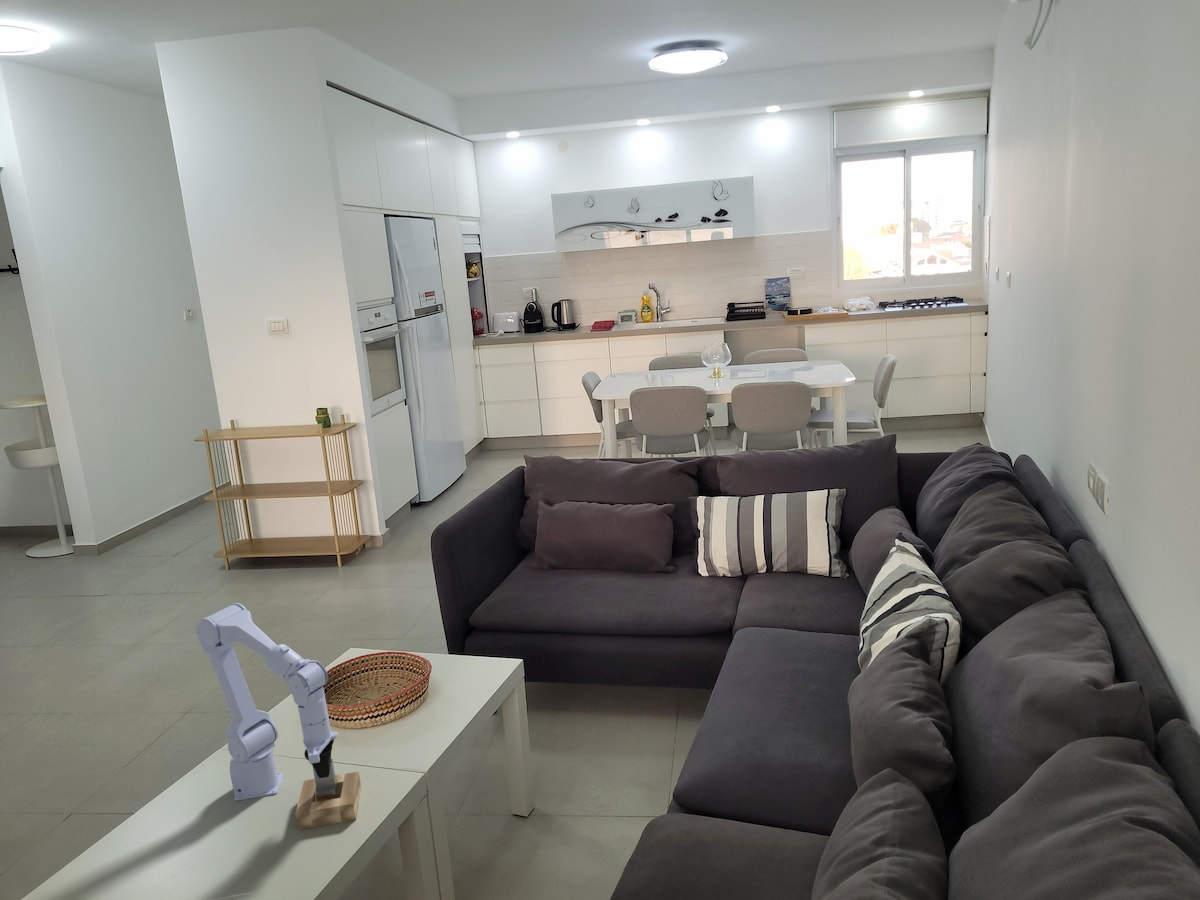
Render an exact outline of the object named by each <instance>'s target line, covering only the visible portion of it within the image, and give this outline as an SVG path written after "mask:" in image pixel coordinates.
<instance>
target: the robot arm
mask: <svg viewBox="0 0 1200 900" xmlns="http://www.w3.org/2000/svg"><path fill="white" fill-rule="evenodd" d="M195 633H196V635H197V637H198V641H199V644H200V646H201V648H202V651H203V653H204V654H206V655H207V657H208V659H209V662H210V664H211V667H212V669H213V672H214V674H215V676H216V679H217V681H218V682H217V683H218V684H219V687H220V689H221V692H222V695H223V697H224V700H225V702H226V703H225V704H226V705H227V708H228V710H229V713H230V715H231V721H230V722H229V723H230V724H229V725H228V727H227V729H226V730H225V736H226V739H227V749H228V752H229V755H230V756H231V758H230V762H229V774H230V781H231V784H232V785H231V786H232V789H233V793H234V794H233V796H234V798H233V799H234V801H235V802H237V801H244V800H249V799H254V798H255V799H256V798H259V797H261V798H262V797H266V796H273V795H277V794H278V792H279V789H280V787H281V783H282V779H283V777H284V773H283V772H278V770H277V764H276V759H275V756H274V748H275V747H276V746H275V745H276V744H275V742H276V741H277V740H278V737H279V734H278V733H279V730H278V727H277V726H276V724H275V723H274V721H273V720H272V719H271V717H270V714H269V713H268V712H267V711H266V710H265V711H264V710H259V709H257V708H256V705H255V702H254V700H253V696H252V694H251V691H250V690H249V687H248V684H247V682H246V679H245V677H244V673H243V671H242V668H241V666H240V663H239V661H238V658H237V656H236V652H235V650H234V645H235V643H236V642H240V644H241V643H242V644H243V645H244V646H246V647H247V648H249V649H251V650H252V651H253V652H255V653H257V654H258V655H260V656H261V657H263V658H265V659H264V660H265V666H266V667H267V668H268V669H270V670H271V671H272V672H273V673H275V674H276V675H277V676H278V677H280V679H282V680H284V681H285V682H286V687H287V689H288V691H289V692H290V694H291V695H292V698H293V702H294V703H295V705H297V709H298V715H299V720H300V725H301V730H302V736H303V740H302V743H303V745H304V748H305V751H304V754H303V755H304V758H305V759H306V760H307V761H308V762H309V764H311V766H312V768H313V767H314V769H315V771H316V773H317V775H318V777H319V778H325V777H329V772H330V765H329V760H330V759H332V750H333V745H334V742H335V740H336V739H337V737H338V735H339V734H338V731H337V730H336V731H332V729H331V723H330V718H329V710H328V707H327V700H326V695H325V690H324V686H325V684H327V682H328V673H327V672H328V671H327V670H326V668H325V667H324V665H323V664H322V663H321V662H320V661H319V660H314V659H313V660H312V659H310V658H306V659H304V658H303V656H301V655H300V654H298V653H297V652H296V651H295V650H293V649H292V648H290V647H289V646H288V645H286V644H284V643H280V644H276V643H275V642H274V641H273V640H272V639H271V638H270V637H269V636H268V635H267V634H266V633H265V632H264V631H262V630H261V629H260V628H259V627H258V626H257V625H256V624H255V623H254V622H253V616H252V614H251V612H250V610H248V609H247V608H246V607H245V606H244V605H243V604H241V603H240V602H233V603H232V604H230V605H229V606H227V607H225V608H222V609H221V610H218V611H217V612H214V613H212V614H211V615H209V616H206V617H202V618H200V620H199V621H198V623H197V625H196V627H195Z"/></svg>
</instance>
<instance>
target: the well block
mask: <svg viewBox="0 0 1200 900" xmlns="http://www.w3.org/2000/svg"><path fill="white" fill-rule="evenodd" d="M335 777H336V780H337V782H338V785H337V790H336V794H334V795H328V796H322V797H316V791H317V789H316V783H315V778H313V779H307V780H303V782H302V787H301V790H300V795H299V799H298V802H297V806H296V809H295V813H294V814H295V820H296V823H297V829H298V831H299V830H308V829H311V828H312V829H313V828H317V827H323V826H324V827H325V826H329V825H335V824H339V823H345V822H353V821H357V816H358V810H359V803H360V798H361V791H362V783H361V778H360V773H359V771H355V772H347V773H342V774H338V775H337V774H335Z"/></svg>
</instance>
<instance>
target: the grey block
mask: <svg viewBox="0 0 1200 900" xmlns="http://www.w3.org/2000/svg"><path fill="white" fill-rule="evenodd" d="M329 765H330V772H329V777H325V778H319V777H318V775H317V773H316V771H315V769H314V767H313V766H312V769H313V771H312V772H313V776H314V779H315V783H316V789H317V791H316V797H322V796H328V795H334V794H336V790H337V785H338V782H337V780H336V777H335V775H336V773H335V767H334V761H333V758H331V759H330V760H329Z"/></svg>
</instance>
